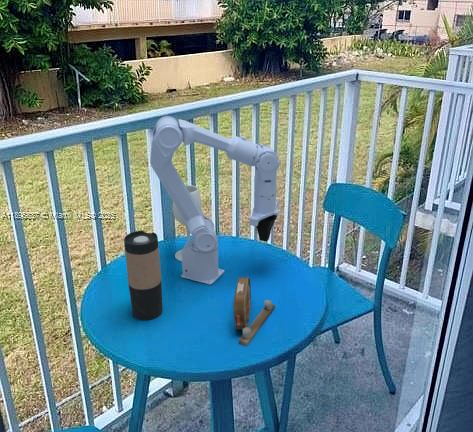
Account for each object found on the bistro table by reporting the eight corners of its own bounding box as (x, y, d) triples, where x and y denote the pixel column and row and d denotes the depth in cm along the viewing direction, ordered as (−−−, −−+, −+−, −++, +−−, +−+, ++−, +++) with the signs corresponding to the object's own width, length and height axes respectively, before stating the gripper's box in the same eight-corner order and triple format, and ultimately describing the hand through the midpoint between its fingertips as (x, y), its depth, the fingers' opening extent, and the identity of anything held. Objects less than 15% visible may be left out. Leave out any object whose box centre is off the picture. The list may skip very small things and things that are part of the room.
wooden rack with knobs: (238, 343, 104) (238, 333, 103) (267, 305, 117) (267, 296, 116) (246, 345, 103) (247, 336, 102) (274, 307, 116) (275, 298, 115)
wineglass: (172, 262, 138) (168, 194, 129) (177, 248, 146) (173, 183, 137) (202, 262, 137) (199, 194, 129) (205, 249, 145) (203, 184, 137)
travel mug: (136, 324, 110) (128, 247, 103) (127, 307, 117) (119, 234, 109) (168, 315, 114) (162, 240, 106) (157, 299, 120) (151, 227, 112)
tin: (246, 337, 106) (246, 305, 103) (232, 336, 106) (232, 304, 103) (251, 299, 120) (252, 270, 116) (239, 299, 120) (239, 270, 117)
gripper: (268, 205, 116) (266, 254, 122) (289, 187, 128) (287, 232, 134) (242, 200, 119) (242, 248, 125) (265, 183, 131) (264, 227, 137)
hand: (264, 240), depth 129 cm, fingers closed
